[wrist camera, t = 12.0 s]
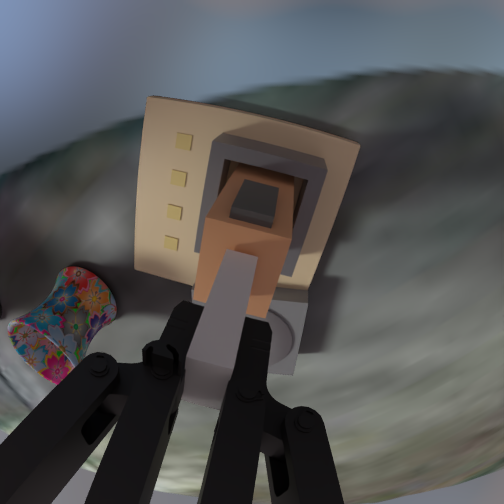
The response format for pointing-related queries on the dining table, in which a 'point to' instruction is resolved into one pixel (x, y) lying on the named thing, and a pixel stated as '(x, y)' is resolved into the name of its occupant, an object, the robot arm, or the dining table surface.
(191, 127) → the board
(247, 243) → the plug
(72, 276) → the mug
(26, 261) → the dining table surface
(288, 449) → the robot arm
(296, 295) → the grey domed square block
